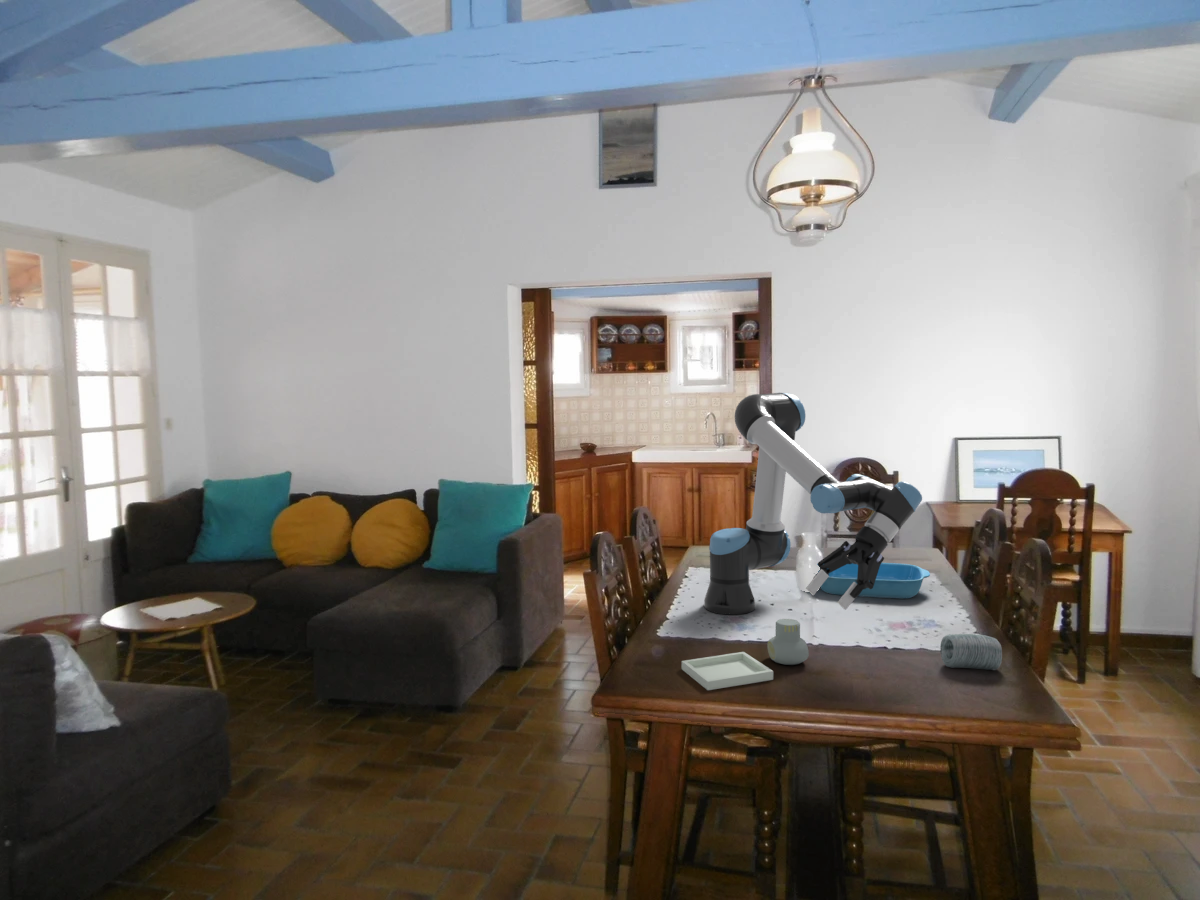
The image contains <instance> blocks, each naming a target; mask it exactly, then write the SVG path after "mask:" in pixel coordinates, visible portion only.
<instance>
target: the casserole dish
mask: <svg viewBox="0 0 1200 900" xmlns="http://www.w3.org/2000/svg"><path fill="white" fill-rule="evenodd" d="M857 575H858V565H857V564H853V563H852V564H846V565H844V566H842V567H840V568H838V569H837V570H835V571H833V572H831V573H829V577H828V578H827V579H826V581H825V582H824V583H823V584H822V586H821V588H820V589H821V590H822V591H823V592H824V593H827V594H829V595H836V596H843V595H844V593H845V592H846V591H847V590H848V588H849V587H850V586H851V585H852V583H853V582H855V583H856V584H858V583H857V582H856V581H855V580H857ZM930 576H931V573H930V571H929V570H927V569H924V568H922V567H920V566H918V565H914V564H909V563H897V562H896V563H895V562H882V563H881V564H880V567H879V570H878V574H877V577H876V580H875V583H874V586H873V588H872V589H869V588H866V589H863V590H862V592H861V593H860V594H859V595H858V597H863V598H864V597H867V598H877V599H878V598H881V599H882V598H883V599H911V598H913V597H915V596H916V595H917V594H919V592H920V590H921V587H922V584H923V581H924V579H926V578H929V577H930ZM869 582H870V580H869Z"/></svg>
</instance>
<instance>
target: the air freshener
mask: <svg viewBox="0 0 1200 900" xmlns="http://www.w3.org/2000/svg"><path fill="white" fill-rule="evenodd" d="M766 646H767V652H768V655H769V658H770V659H771V660H772V661H773V662H775V663H777V664H780V665H787V666H794V665H799V664H801V663H803V662H805V661H806V660H807V659H809V653H810V652H809V647H808V644H807V642H806V640H804V638H802V637H801V623H800V621H798V620H796V619H792V618H780V619H778V620H776V621H775V636H772V637H771V638H770V639H769V640H768V641H767V645H766Z"/></svg>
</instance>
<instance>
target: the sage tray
mask: <svg viewBox="0 0 1200 900" xmlns="http://www.w3.org/2000/svg"><path fill="white" fill-rule="evenodd" d="M681 670H682V671H683V672H684V673H686V674H687V675H689V676H690V677H691V678H692V679H693V680H694V681H696V682H697V683H698V684H699V685H700V686H702V687H703V688H704V689H705V690H706V691H712V690H717V689H723V688H730V687H736V686H742V685H749V684H755V683H761V682H767V681H773V680H774V670H772V669H771V668H770V667H768V666H767V665H765V664H763V663H762V662H760V661H759V660H757V659H756V658H754V657H752V656H751V655H750V654H748V653H746V652H745V651H739V652H732V653H725V654H720V655H719V654H718V655H711V656H707V657H699V658H693V659H686V660H681Z"/></svg>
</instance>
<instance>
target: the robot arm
mask: <svg viewBox="0 0 1200 900" xmlns="http://www.w3.org/2000/svg"><path fill="white" fill-rule="evenodd" d="M805 421H806V410H805V406H804V404H803V403H802V402H801V399H800V398H799V397H798V396H796V395H795V394H792V393H789V392H788V393H787V392H773V393H762V394H761V393H757V394H750V395H748V396H746V397H744V398H743V399H741V400H740V402H738V404H737V406H736V408H735V411H734V423H735V426H736V428H737V430H738V432H739V434H741V436H742V437H743V438H744V439H745V440H746V441H748V442H749V444H752V445H757V446H758V456H757V467H756V475H755V476H756V478H755V486H754V494H753V495H754V496H753V505H752V516H751V518H749V519H748V520H747V521H746V526H745V528H741V527H731V528H728V527H727V528H723V529H719V530H717V531H715V532H713V533H712V534H711V537H710V539H709V547H708V548H709V585H708V588H707V590H706V594H705V597H704V602H703V607H704V609H705V610H707V612H708V611H709V612H711V613H715V614H719V615H744V614H749V613H751V612H754V611H755V609H756V600H755V597H754V594H753V591H752V587H751V584H750V571H753V570H757V569H763V568H767V567H768V568H769V567H774V566H776V565H779V564H782V563H784V561H785V560H786V559H787V558H788V557H789V555H790V552H791V546H792V545H791V544H792V542H791V539H790V537H789V536H790V535H789V533H788V532H787V530H786V526H785V524H784V523H783V522H782V521H781V518H782V510H783V500H784V494H785V493H784V492H785V491H784V490H785V484H786V483H785V482H786V474H788V475H789V476H791V478H792V479H794V481H795V482H797V483H798V484H799V485H800V486H801V487H802V488H803V489H804V490H805V492H807V493H808V494H809V495H810V503H811V504H812V507H813V509H814V510H815V511H816V512H817V513H819V514H836V513H841V512H847V511H852V510H859V509H864V508H865V509H869V510H871V511H874V512H873V513H872V514H871V515H870V517H868V519H867V520H866V522H865V523H864V526H862V527H861V528H860V529H859V531H858V532H857V533H856V535H855V536H854V537H855V538H854V539H855V541H854V543H853V544H850V542H848V541H847V540H845V541H843V543H842V544H841V545H840V546H839V547H838V548H836V549H834V550H833V551H832V552H831V553H829V554H828V555H827V556H825V557H823V558H822V559H821V560H820V561H818V562H817V563H816V564H817V565H818V566H819V567H820V570H819V571H818V573H817V574H815V575H814V576H813V579H812V580H811V581H810V582H809V583H808V584H807V586H806V587H805V589H806V590H807V591H808V592H809V593H810V594H811V595H812V596H814V595H815V594H816V593H817V592H818V591H819V589H821V588H820V587H821V586H822V584H823V583H824V582H825V581H826V579H827V578H828V577H829V573H831V572H833V571H835V570H837V569H838V568H840V567H842V566H844V565H846V564H852V563H853V564H857V565H858V575H857V580H855V581H856V582H857V583H858V584H856V583H855V582H853V583H852V585H851V586H850V587H849V588H848V590H847V591H846V592H845V593H844V595H841V597H840V599H839V600H838V601H837V604H839V605H840V607H841V608H843V610H845V611H846V610H847V609H848V608H849V607H850V606H851V604H852V603H853V601H855V599H857V598H858V597H859V596H858V595H859V594H860V593H861V592H862V590H863V589H866V588H869V589H872V588H873V586H874V583H875V580H876V577H877V574H878V570H879V567H880V564H881V563H883V561H885V557H884V556H883V554H882V553H883V552H884V550H885V549H886V547H888V543H890V542H891V541H892V540H893V539H894V537H895V536H896V535H897V533H898V532H899V531H900V530H901V529H902V527H903V526H904V525H905V523H906V522H907V521H908V520H909V519H910V517H911V516H912V515H913V514H914V513H915V512H916V510H917V509H918V507H919V505H920V504H921V502H922V500H923V495H922V494H921V491H919V489H918V488H917V487H915V486H914V485H913V484H911V483H909V482H907V481H898V482H897V483H896V484H895V485H894V486H891V485H888V484H885V483H882V482H880V481H877V480H875V479H873V478H871V477H869V476H868V475H863V474H860V473H854V474H851V475H850V476H849V477H848V478H847V479H846V480H845V481H839V480H838V479H837V478H836V477H835V476H834V475H833V474H831V473H830V472H829V471H828V470H827V469H826V468H825V467H823V466H822V465H821V464H820V463H819V462H818V461H817V460H816V459H814V458H813V457H812V456H811V455H810V454H809V453H808V452H807V451H806V450H805V449H803V448H802V447H801V446H800V445H799V444H798V443H797V442H796V441H795V439H796V432H798V431H800V429H802V427H804V424H805ZM869 580H870V582H869Z"/></svg>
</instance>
